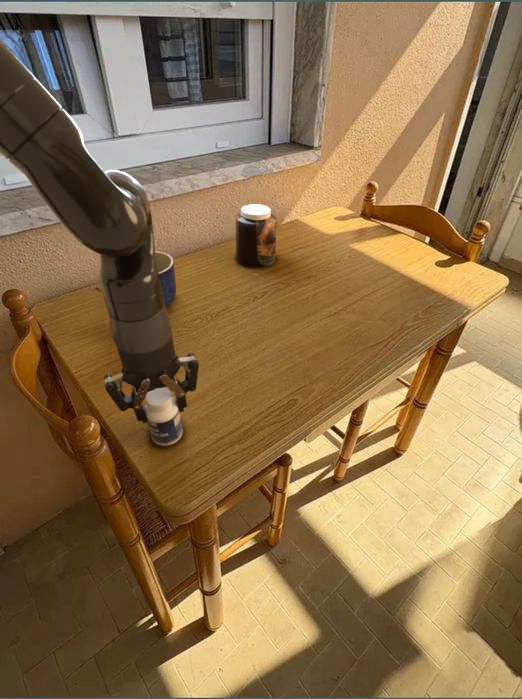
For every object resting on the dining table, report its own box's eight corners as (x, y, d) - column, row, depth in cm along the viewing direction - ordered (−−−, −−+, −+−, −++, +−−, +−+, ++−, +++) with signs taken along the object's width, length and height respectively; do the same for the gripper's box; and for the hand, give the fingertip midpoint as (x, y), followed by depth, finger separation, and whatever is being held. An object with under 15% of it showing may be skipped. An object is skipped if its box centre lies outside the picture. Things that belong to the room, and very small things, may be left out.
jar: (234, 267, 111) (232, 216, 101) (238, 249, 120) (236, 201, 110) (274, 268, 111) (276, 218, 101) (275, 250, 120) (277, 202, 110)
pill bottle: (147, 445, 64) (135, 407, 58) (156, 420, 68) (147, 382, 62) (178, 448, 64) (170, 410, 58) (186, 422, 68) (179, 385, 62)
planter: (175, 315, 93) (168, 276, 85) (123, 315, 92) (113, 276, 85) (182, 288, 102) (176, 251, 95) (135, 288, 102) (126, 250, 95)
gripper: (187, 307, 56) (198, 386, 67) (85, 329, 52) (114, 410, 63) (202, 336, 51) (211, 417, 62) (89, 364, 47) (120, 445, 58)
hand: (162, 413), depth 63 cm, fingers closed on pill bottle, 5 cm apart
